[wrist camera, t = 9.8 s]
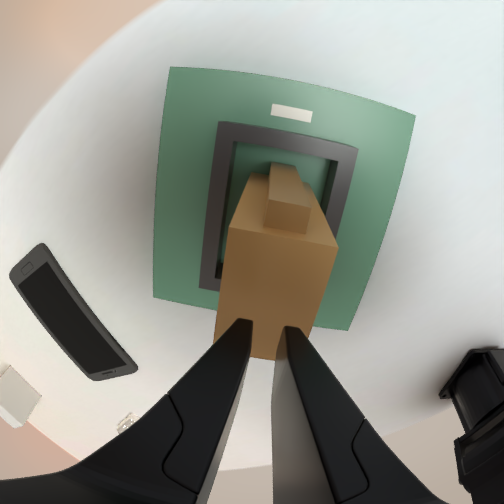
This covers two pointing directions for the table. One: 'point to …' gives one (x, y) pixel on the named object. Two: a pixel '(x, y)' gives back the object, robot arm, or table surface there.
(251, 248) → the plug
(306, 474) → the robot arm
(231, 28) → the table surface
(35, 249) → the cell phone
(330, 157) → the board
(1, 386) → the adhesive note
